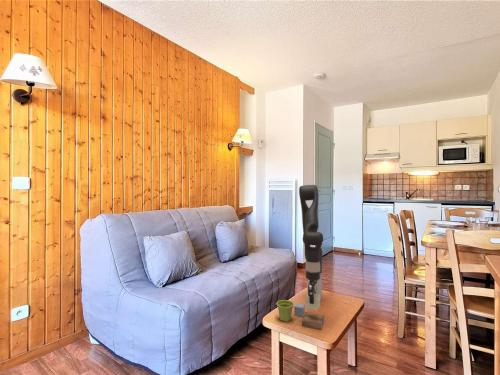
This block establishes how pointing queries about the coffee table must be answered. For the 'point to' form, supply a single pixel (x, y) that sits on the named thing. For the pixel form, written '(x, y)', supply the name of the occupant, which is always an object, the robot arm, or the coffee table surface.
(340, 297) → the coffee table surface
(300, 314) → the slate block
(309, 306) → the sage block
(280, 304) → the plant pot
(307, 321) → the walnut square pad
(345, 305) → the coffee table surface
